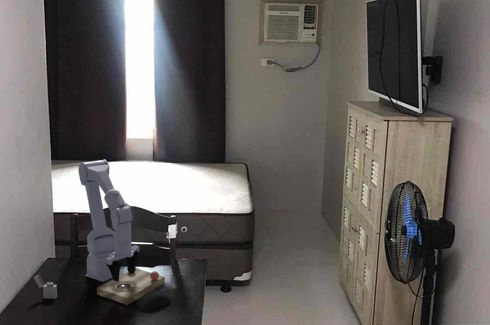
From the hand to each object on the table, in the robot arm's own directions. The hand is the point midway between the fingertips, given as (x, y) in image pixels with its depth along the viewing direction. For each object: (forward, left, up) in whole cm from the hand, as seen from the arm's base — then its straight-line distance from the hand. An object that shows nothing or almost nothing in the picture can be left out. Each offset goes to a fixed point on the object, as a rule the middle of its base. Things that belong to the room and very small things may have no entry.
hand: (123, 276), depth 184 cm
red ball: (+6, +10, -2) cm, 12 cm away
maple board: (0, +4, -6) cm, 7 cm away
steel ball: (0, -1, -5) cm, 5 cm away
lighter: (-20, -17, -6) cm, 27 cm away
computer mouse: (+14, -1, -7) cm, 15 cm away
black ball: (-5, +10, -2) cm, 12 cm away
